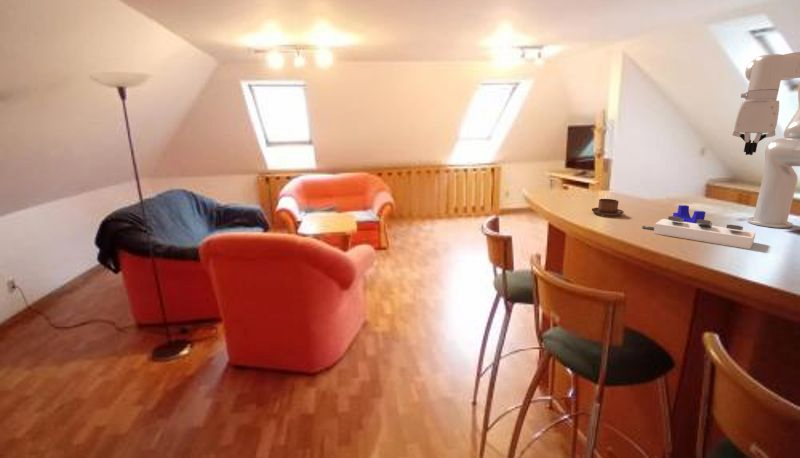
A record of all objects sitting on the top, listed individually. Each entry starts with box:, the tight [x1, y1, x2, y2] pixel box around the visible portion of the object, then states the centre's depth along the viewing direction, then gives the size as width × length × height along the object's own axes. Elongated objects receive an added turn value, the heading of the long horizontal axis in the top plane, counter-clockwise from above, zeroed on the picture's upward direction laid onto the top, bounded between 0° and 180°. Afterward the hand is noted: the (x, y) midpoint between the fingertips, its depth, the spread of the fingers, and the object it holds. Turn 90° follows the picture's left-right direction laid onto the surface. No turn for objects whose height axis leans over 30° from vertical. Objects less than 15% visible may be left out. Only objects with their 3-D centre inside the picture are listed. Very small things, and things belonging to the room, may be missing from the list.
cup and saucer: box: [591, 198, 624, 217], centre depth 170 cm, size 12×12×6 cm
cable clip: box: [672, 204, 706, 224], centre depth 154 cm, size 12×4×6 cm, turn 173°
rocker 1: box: [696, 219, 713, 227], centre depth 135 cm, size 6×4×1 cm, turn 136°
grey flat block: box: [667, 215, 684, 222], centre depth 141 cm, size 6×4×1 cm, turn 136°
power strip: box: [641, 218, 757, 250], centre depth 138 cm, size 10×31×4 cm, turn 45°
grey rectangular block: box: [725, 224, 744, 230], centre depth 130 cm, size 6×4×1 cm, turn 136°
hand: (749, 154), depth 134 cm, fingers closed
